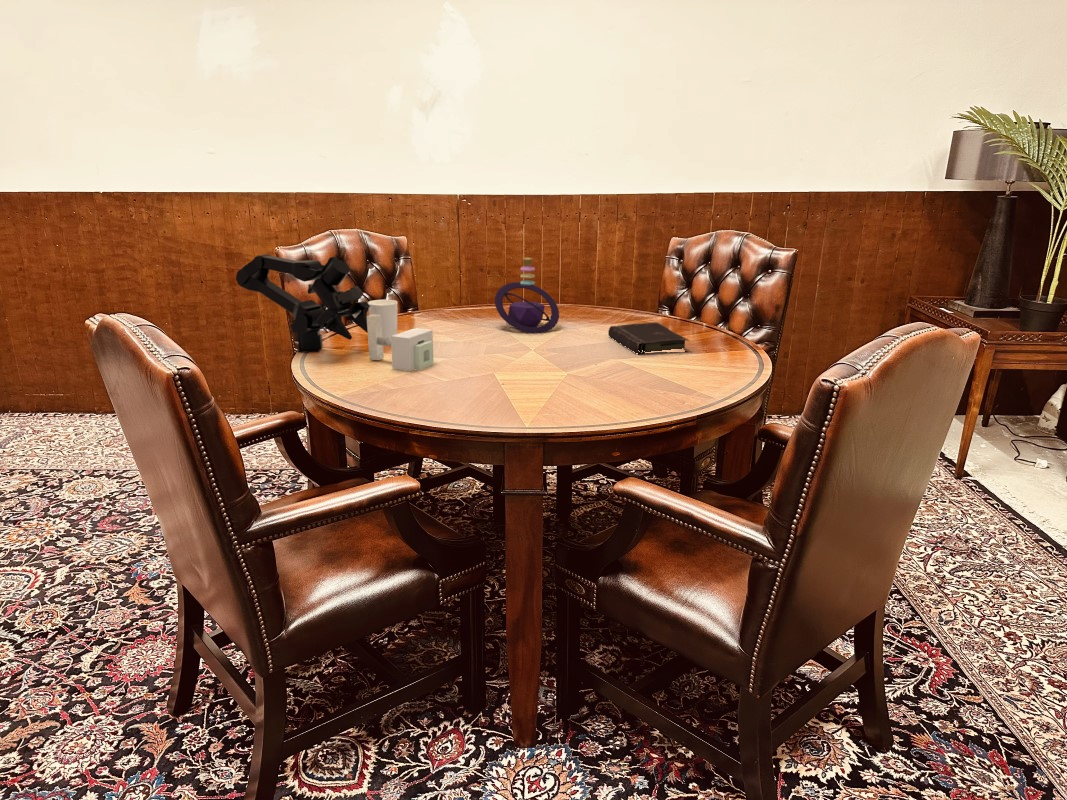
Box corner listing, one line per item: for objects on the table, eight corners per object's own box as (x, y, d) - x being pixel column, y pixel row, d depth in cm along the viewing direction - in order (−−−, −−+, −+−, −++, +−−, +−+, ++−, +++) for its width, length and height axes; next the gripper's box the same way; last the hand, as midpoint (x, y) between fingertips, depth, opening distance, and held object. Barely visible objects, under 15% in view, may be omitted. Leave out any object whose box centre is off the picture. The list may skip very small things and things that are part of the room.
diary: (635, 357, 224) (636, 342, 222) (607, 339, 247) (608, 325, 245) (690, 353, 228) (691, 338, 227) (658, 336, 251) (659, 322, 250)
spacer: (415, 369, 205) (414, 345, 203) (429, 364, 211) (428, 340, 209) (419, 370, 205) (419, 346, 203) (433, 364, 211) (432, 341, 209)
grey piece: (369, 359, 214) (366, 316, 210) (375, 356, 217) (373, 314, 213) (411, 365, 208) (409, 321, 204) (417, 362, 211) (415, 319, 207)
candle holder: (402, 334, 248) (401, 300, 244) (394, 341, 238) (392, 305, 235) (374, 333, 248) (372, 299, 245) (365, 340, 239) (363, 304, 235)
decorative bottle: (503, 336, 247) (502, 262, 239) (490, 323, 266) (489, 255, 258) (565, 333, 252) (567, 261, 245) (548, 321, 272) (549, 253, 264)
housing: (392, 368, 206) (390, 336, 203) (416, 359, 216) (415, 328, 213) (410, 371, 203) (408, 338, 200) (433, 361, 214) (432, 330, 211)
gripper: (322, 282, 204) (355, 324, 203) (363, 274, 220) (394, 314, 219) (302, 306, 210) (334, 348, 209) (344, 297, 226) (374, 336, 225)
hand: (360, 335), depth 215 cm, fingers open, 9 cm apart
